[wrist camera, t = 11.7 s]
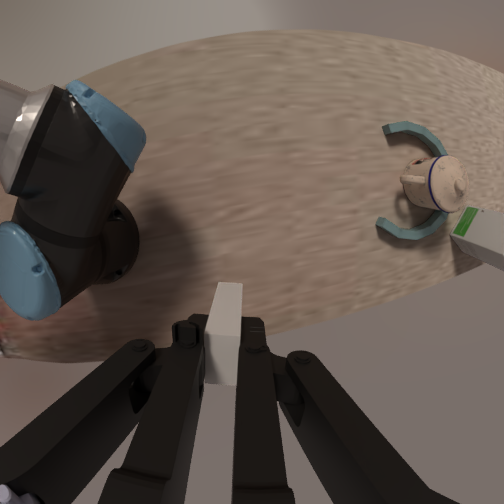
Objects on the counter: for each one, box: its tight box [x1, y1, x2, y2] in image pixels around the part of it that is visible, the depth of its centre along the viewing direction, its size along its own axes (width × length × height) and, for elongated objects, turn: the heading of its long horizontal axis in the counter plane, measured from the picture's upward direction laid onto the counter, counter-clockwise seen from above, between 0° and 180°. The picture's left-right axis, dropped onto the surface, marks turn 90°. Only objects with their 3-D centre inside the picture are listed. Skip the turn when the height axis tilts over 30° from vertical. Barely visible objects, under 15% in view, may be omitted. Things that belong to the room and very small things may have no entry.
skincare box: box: [450, 205, 504, 271], centre depth 36 cm, size 8×7×16 cm
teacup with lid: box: [400, 155, 469, 213], centre depth 36 cm, size 12×9×12 cm
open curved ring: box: [375, 121, 448, 240], centre depth 40 cm, size 16×20×2 cm
